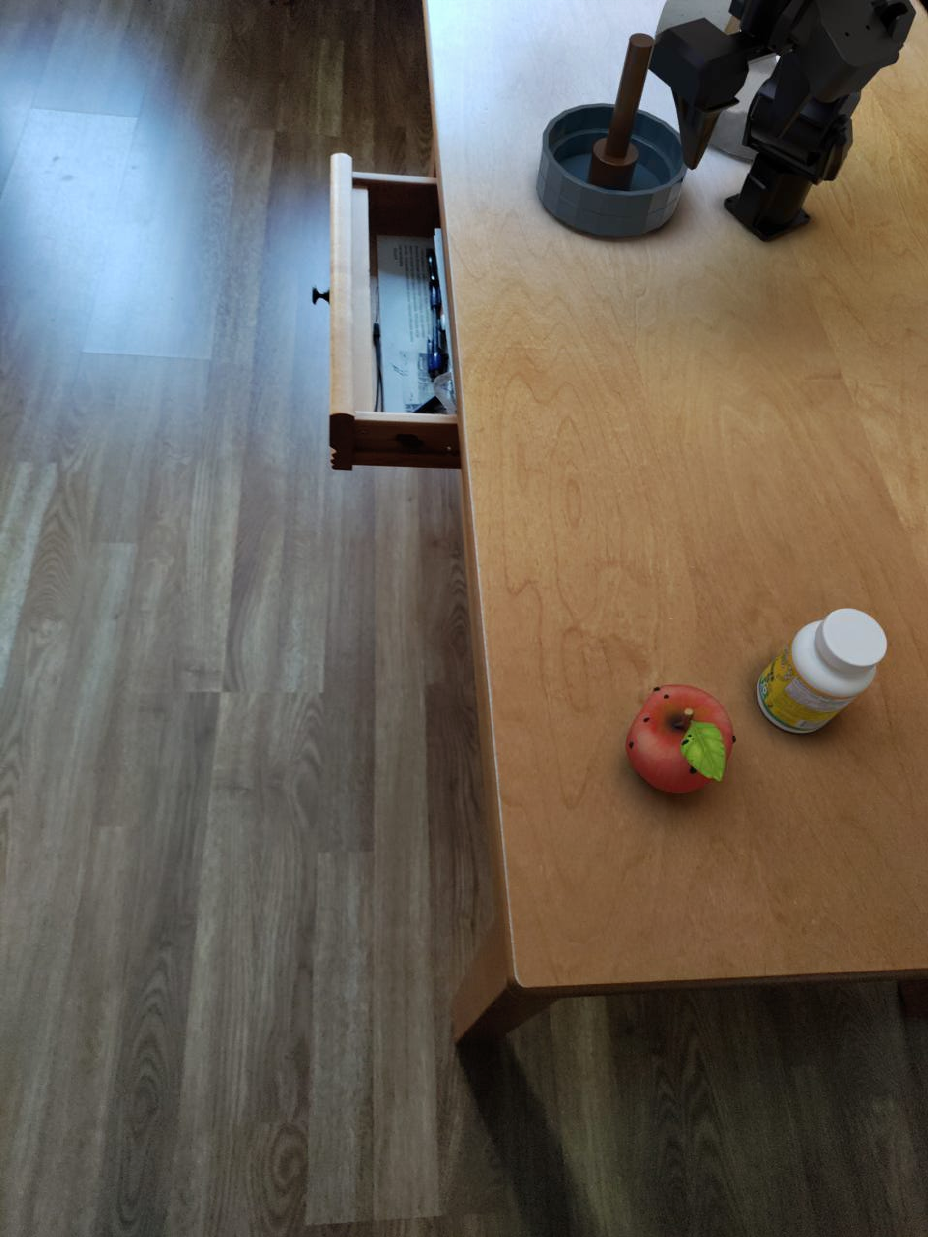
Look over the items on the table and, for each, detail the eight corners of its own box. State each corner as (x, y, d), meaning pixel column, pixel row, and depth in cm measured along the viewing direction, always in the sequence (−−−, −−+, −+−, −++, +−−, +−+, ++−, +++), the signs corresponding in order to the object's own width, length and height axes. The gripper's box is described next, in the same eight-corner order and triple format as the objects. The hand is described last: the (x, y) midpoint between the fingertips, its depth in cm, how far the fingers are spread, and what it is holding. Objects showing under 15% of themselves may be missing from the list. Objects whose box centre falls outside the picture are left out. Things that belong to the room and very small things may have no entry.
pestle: (637, 194, 86) (678, 45, 74) (603, 208, 84) (639, 58, 72) (610, 170, 87) (645, 20, 75) (576, 183, 86) (606, 32, 74)
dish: (720, 74, 98) (735, 27, 94) (830, 124, 95) (851, 77, 91) (658, 131, 92) (672, 84, 88) (774, 186, 89) (793, 140, 85)
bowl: (617, 136, 91) (629, 88, 87) (703, 214, 86) (720, 167, 82) (507, 174, 87) (513, 126, 82) (591, 259, 82) (602, 212, 77)
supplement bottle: (805, 750, 59) (874, 694, 50) (739, 702, 60) (795, 639, 52) (842, 696, 61) (913, 634, 53) (777, 651, 62) (837, 583, 54)
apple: (592, 732, 58) (627, 670, 50) (678, 698, 60) (726, 632, 51) (647, 837, 55) (694, 790, 46) (735, 798, 57) (798, 745, 48)
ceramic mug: (712, 86, 97) (737, 11, 90) (646, 62, 98) (665, -14, 92) (741, 45, 102) (766, -29, 95) (678, 23, 103) (698, -52, 97)
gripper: (796, 15, 50) (710, 246, 64) (1003, -49, 56) (883, 175, 69) (676, -73, 54) (619, 161, 68) (880, -124, 60) (790, 101, 74)
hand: (732, 151), depth 70 cm, fingers open, 9 cm apart
